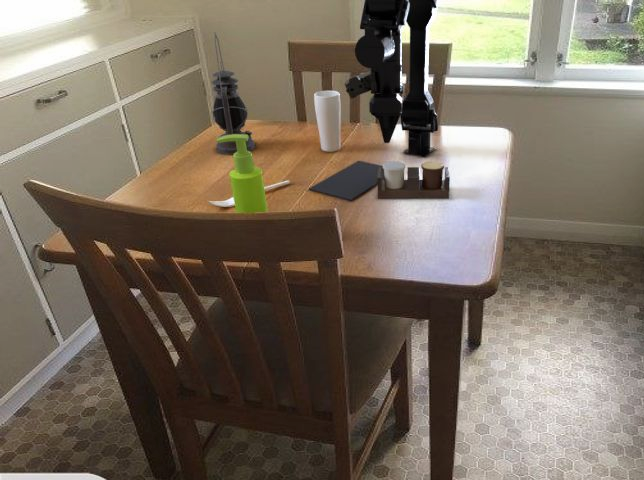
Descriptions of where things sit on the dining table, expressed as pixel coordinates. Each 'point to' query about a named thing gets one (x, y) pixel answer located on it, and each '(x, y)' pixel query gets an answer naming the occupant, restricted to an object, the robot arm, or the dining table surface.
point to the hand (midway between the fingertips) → (387, 136)
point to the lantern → (229, 109)
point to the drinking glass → (328, 119)
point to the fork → (231, 201)
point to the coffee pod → (394, 174)
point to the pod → (432, 174)
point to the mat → (350, 181)
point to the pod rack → (413, 187)
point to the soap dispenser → (246, 178)
